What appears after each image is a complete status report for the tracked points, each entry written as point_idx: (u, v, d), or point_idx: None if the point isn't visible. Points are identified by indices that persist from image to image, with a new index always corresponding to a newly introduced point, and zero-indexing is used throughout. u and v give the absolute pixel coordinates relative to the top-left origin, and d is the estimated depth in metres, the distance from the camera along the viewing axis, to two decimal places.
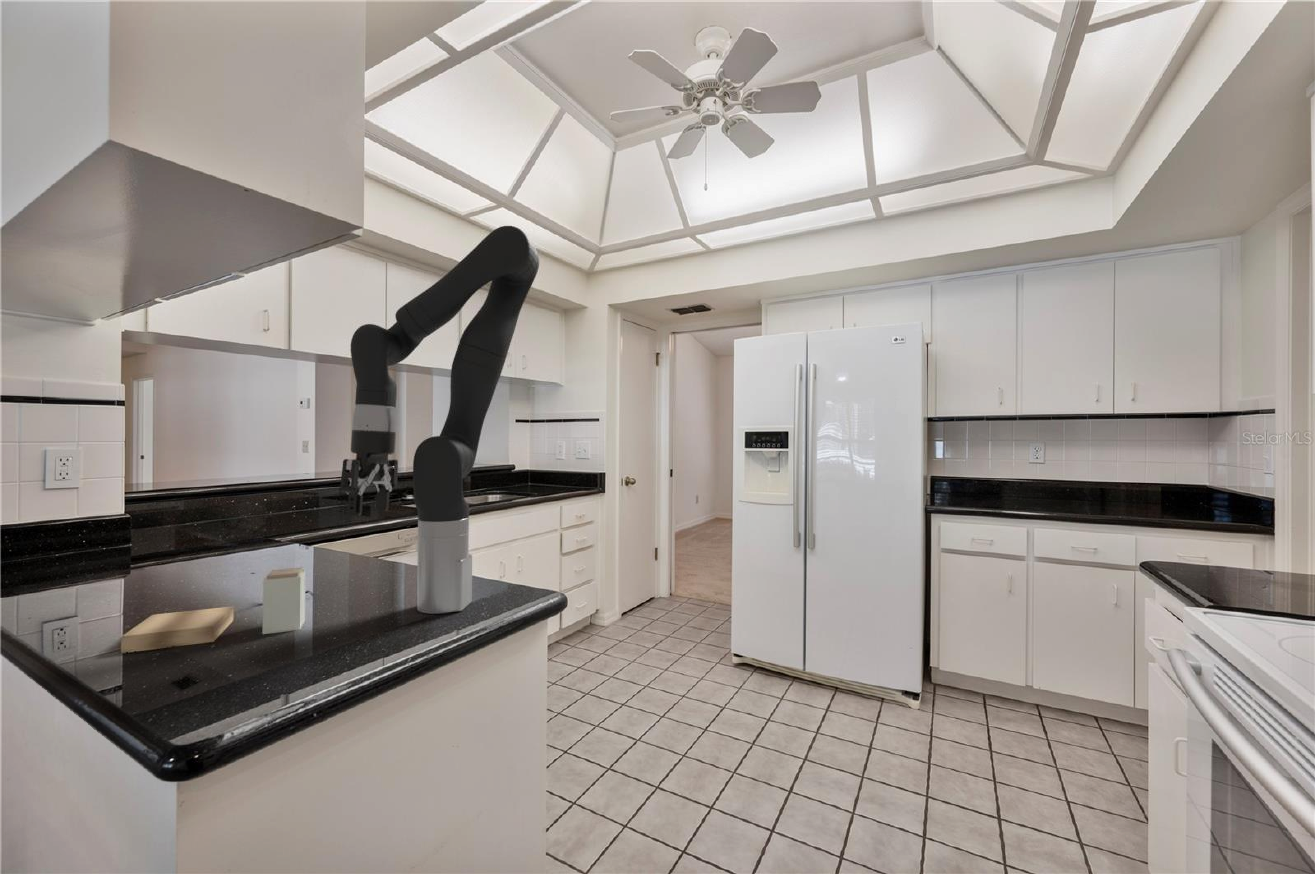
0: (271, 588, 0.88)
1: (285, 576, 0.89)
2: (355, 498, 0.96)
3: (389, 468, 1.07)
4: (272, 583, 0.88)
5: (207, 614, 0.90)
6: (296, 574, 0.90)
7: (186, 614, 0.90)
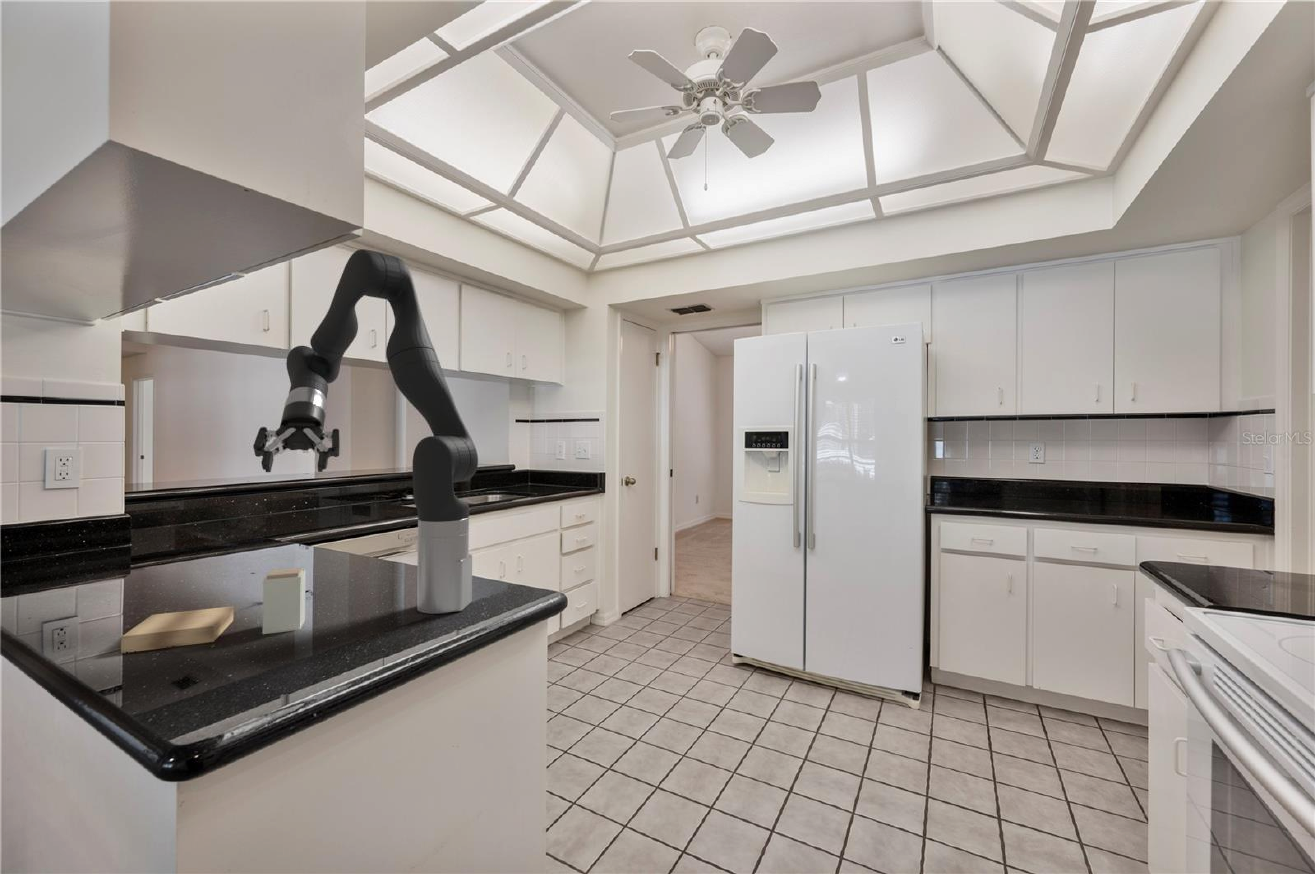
0: (271, 588, 0.88)
1: (285, 576, 0.89)
2: (263, 455, 1.02)
3: (329, 437, 1.10)
4: (272, 583, 0.88)
5: (207, 614, 0.90)
6: (296, 574, 0.90)
7: (186, 614, 0.89)
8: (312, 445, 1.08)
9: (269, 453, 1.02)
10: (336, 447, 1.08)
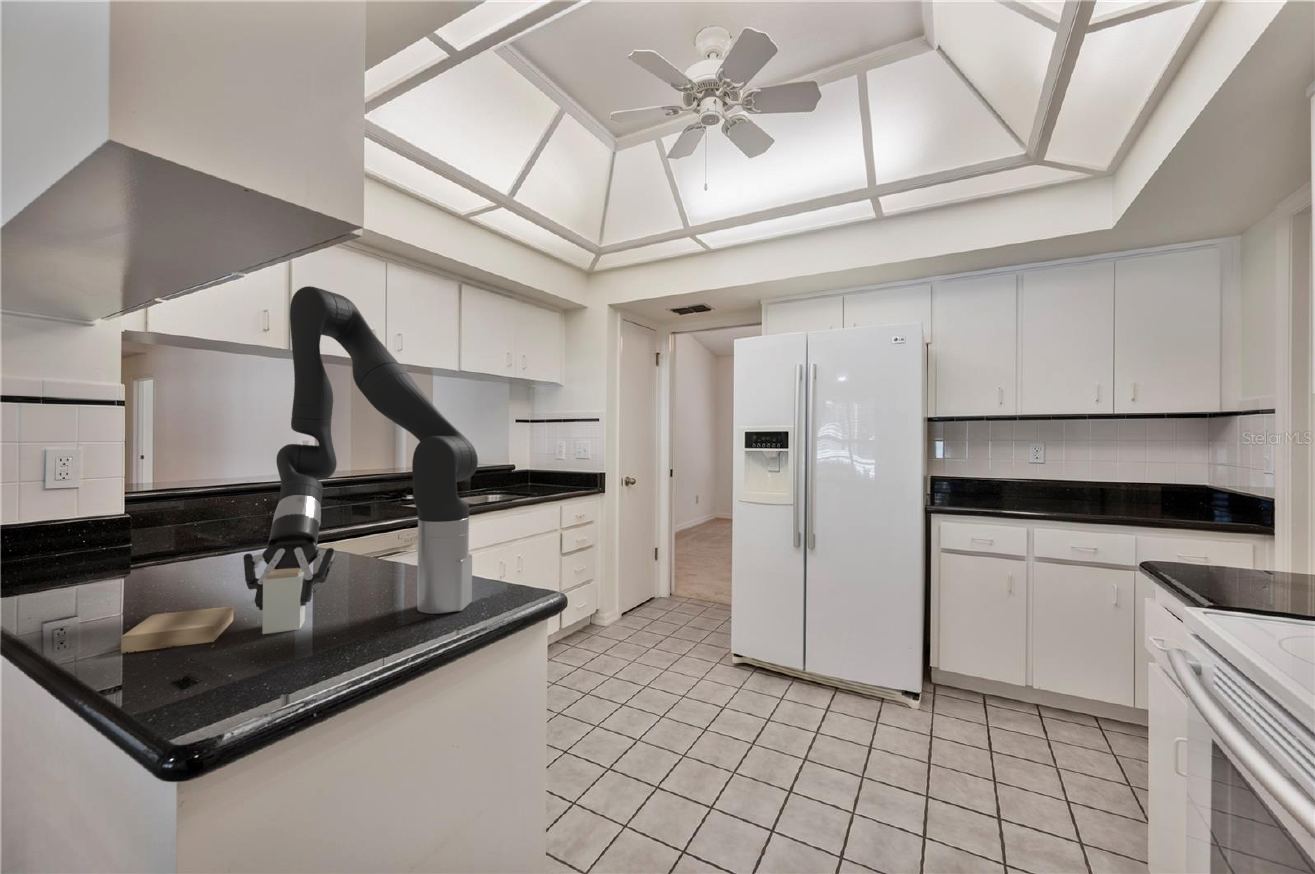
0: (271, 588, 0.88)
1: (285, 576, 0.89)
2: (257, 589, 0.89)
3: (321, 557, 0.97)
4: (272, 583, 0.88)
5: (207, 614, 0.90)
6: (296, 574, 0.90)
7: (186, 614, 0.89)
8: None
9: None
10: (321, 573, 0.94)
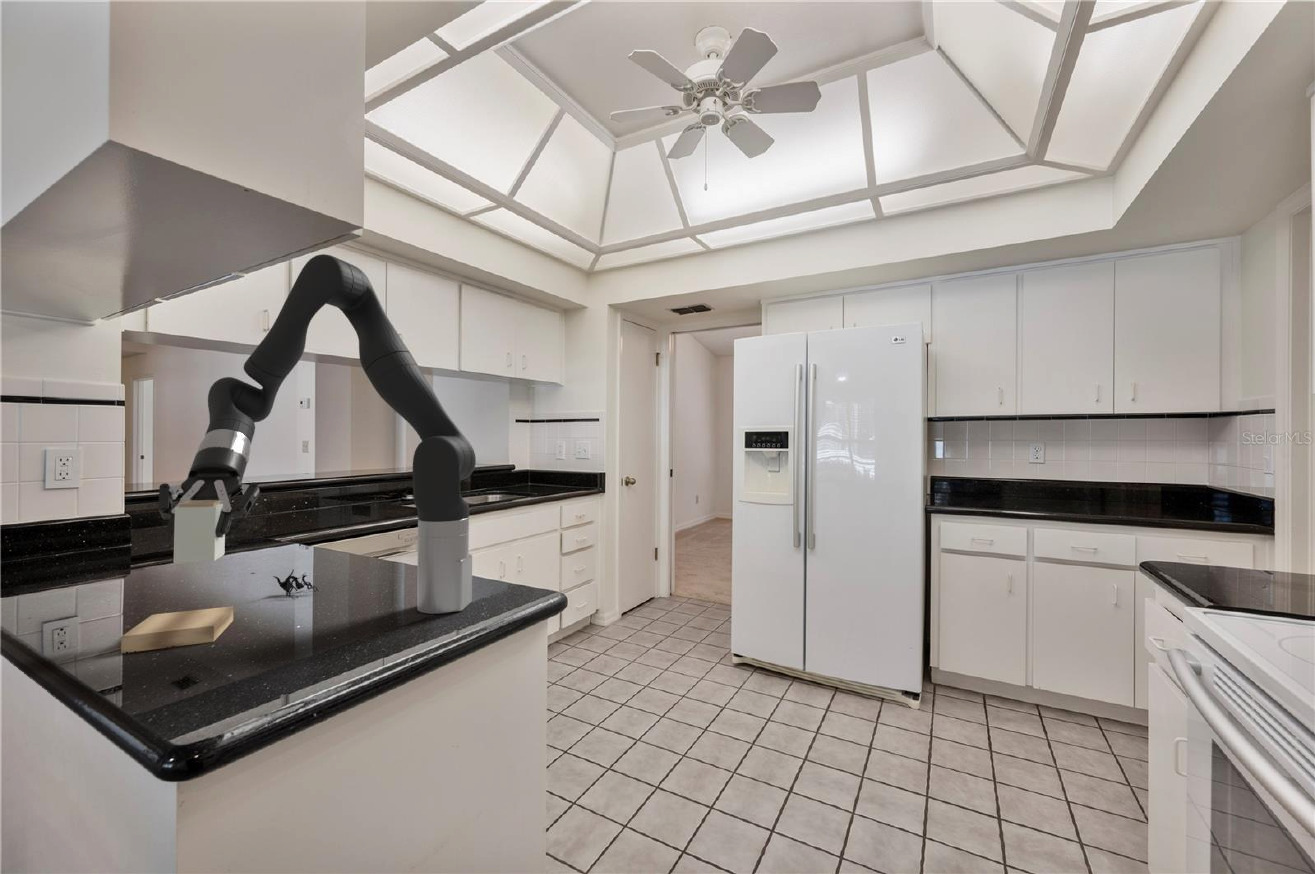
0: (183, 516, 0.85)
1: (199, 505, 0.86)
2: (170, 518, 0.86)
3: (244, 491, 0.94)
4: (185, 511, 0.85)
5: (207, 614, 0.90)
6: (211, 504, 0.87)
7: (186, 614, 0.89)
8: None
9: None
10: (241, 506, 0.91)
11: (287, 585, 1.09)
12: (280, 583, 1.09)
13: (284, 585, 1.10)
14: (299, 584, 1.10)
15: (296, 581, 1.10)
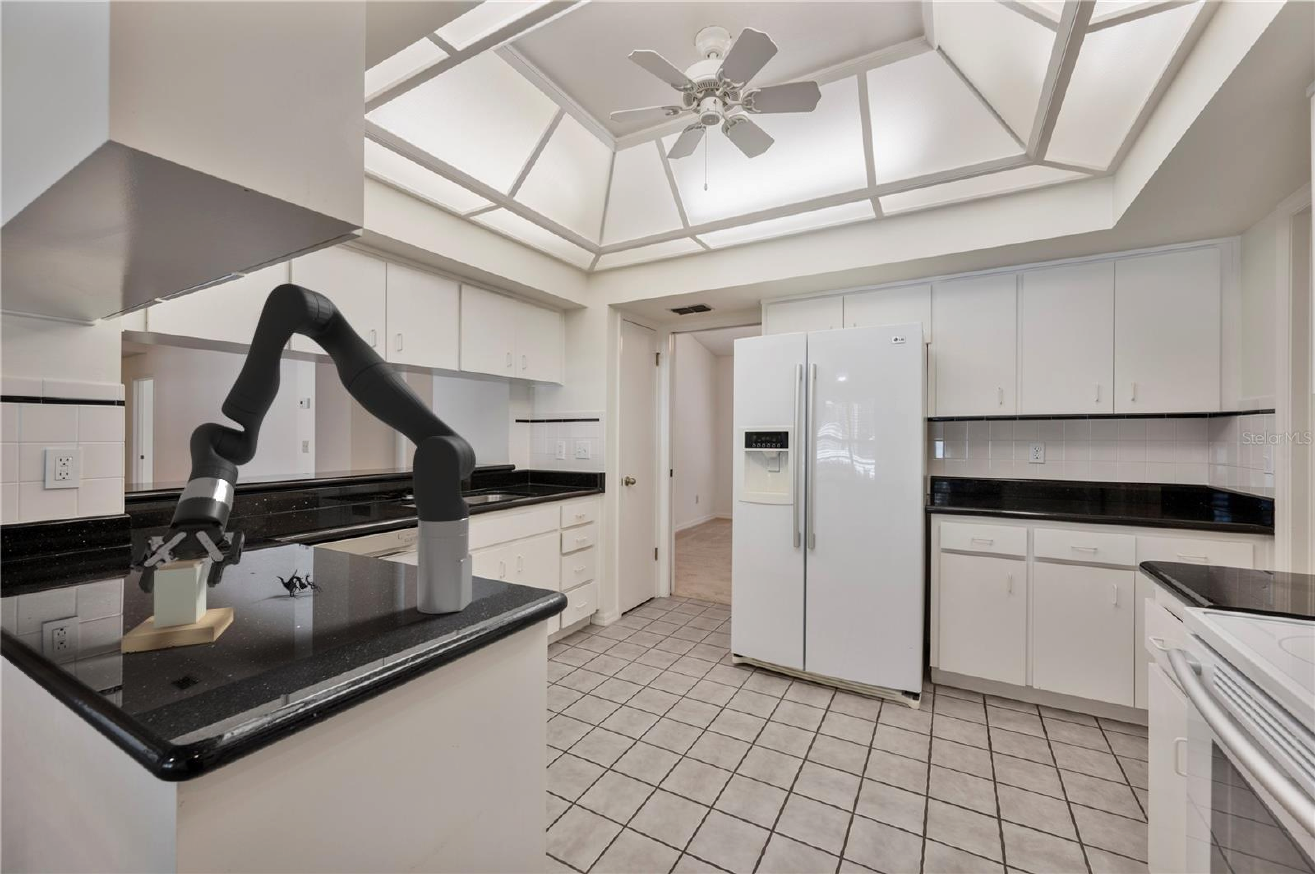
0: (163, 579, 0.84)
1: (179, 567, 0.85)
2: (143, 571, 0.85)
3: (229, 540, 0.93)
4: (165, 574, 0.84)
5: (207, 615, 0.90)
6: (192, 565, 0.86)
7: None
8: (206, 552, 0.91)
9: (150, 569, 0.85)
10: (234, 554, 0.91)
11: (291, 585, 1.09)
12: (284, 583, 1.09)
13: (288, 585, 1.10)
14: (303, 584, 1.10)
15: (300, 581, 1.10)
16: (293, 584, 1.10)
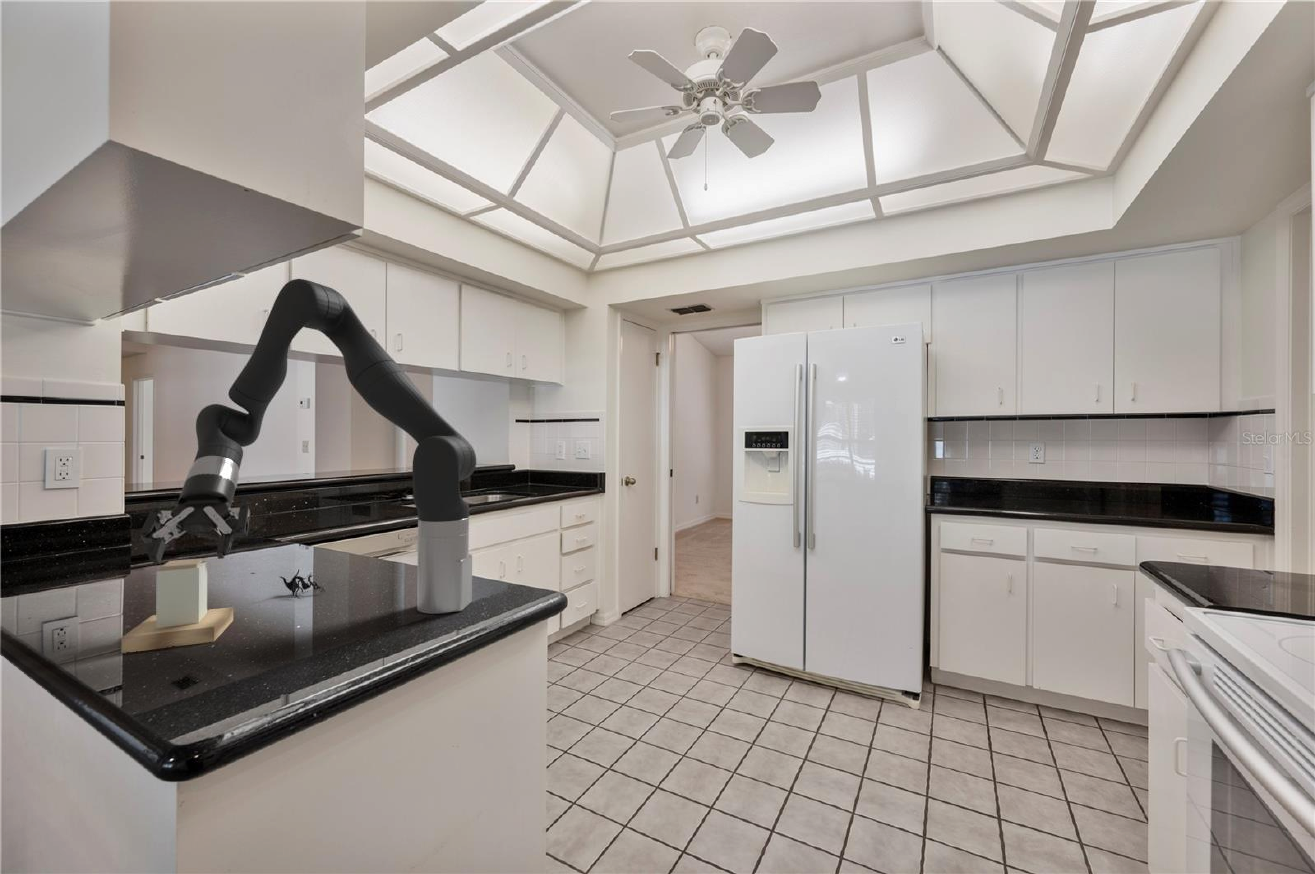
0: (165, 580, 0.84)
1: (182, 567, 0.85)
2: (151, 543, 0.88)
3: (236, 514, 0.96)
4: (167, 575, 0.84)
5: (207, 615, 0.90)
6: (194, 565, 0.86)
7: None
8: (214, 526, 0.94)
9: (158, 540, 0.88)
10: (242, 527, 0.94)
11: (293, 585, 1.09)
12: (286, 583, 1.09)
13: (290, 585, 1.09)
14: (305, 584, 1.10)
15: (302, 581, 1.10)
16: (295, 584, 1.10)
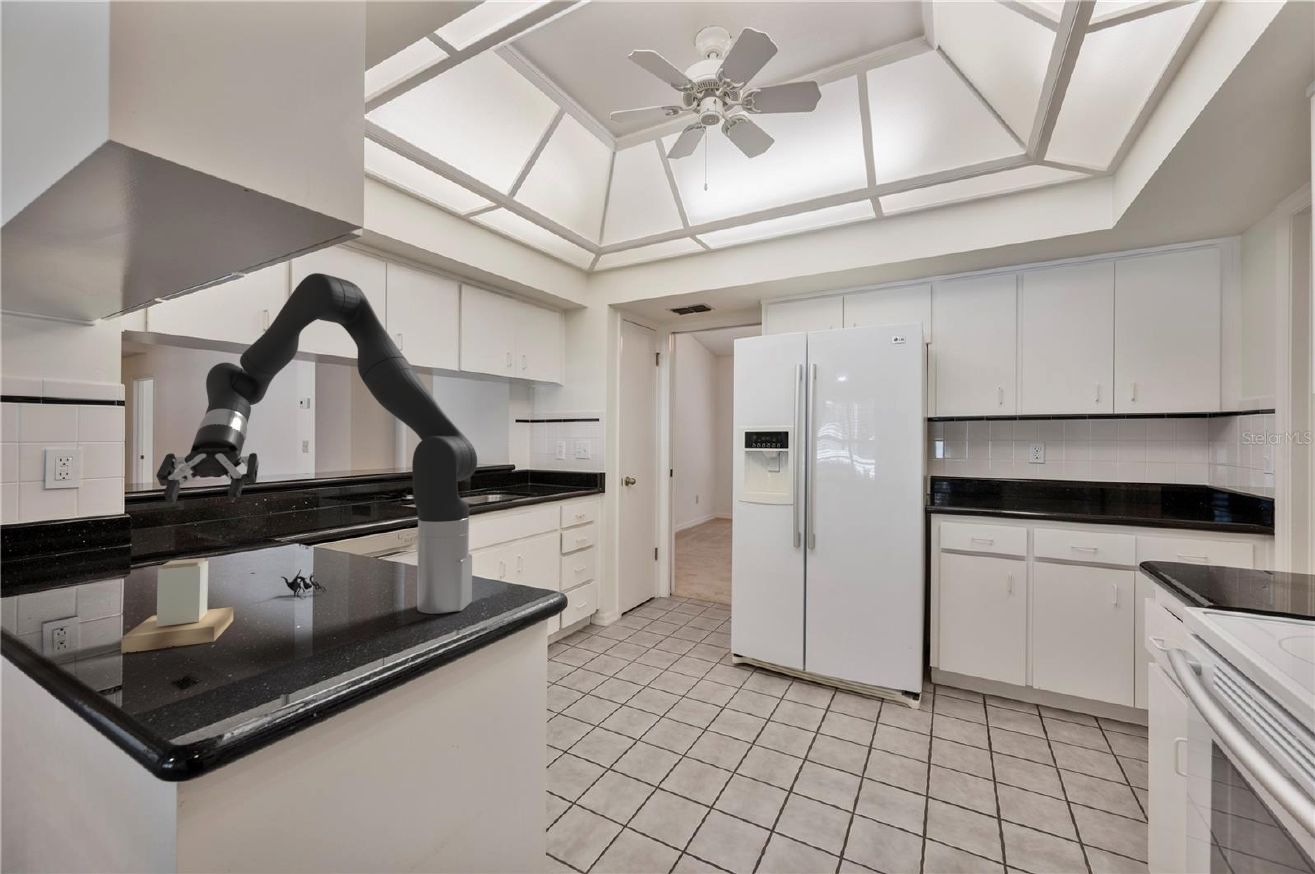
0: (167, 578, 0.84)
1: (183, 565, 0.85)
2: (167, 484, 0.94)
3: (245, 462, 1.03)
4: (168, 573, 0.84)
5: (207, 615, 0.90)
6: (195, 563, 0.86)
7: None
8: (225, 472, 1.00)
9: (174, 482, 0.95)
10: (251, 473, 1.00)
11: (295, 585, 1.09)
12: (288, 583, 1.09)
13: (292, 585, 1.09)
14: (307, 584, 1.10)
15: (304, 581, 1.10)
16: (297, 584, 1.10)
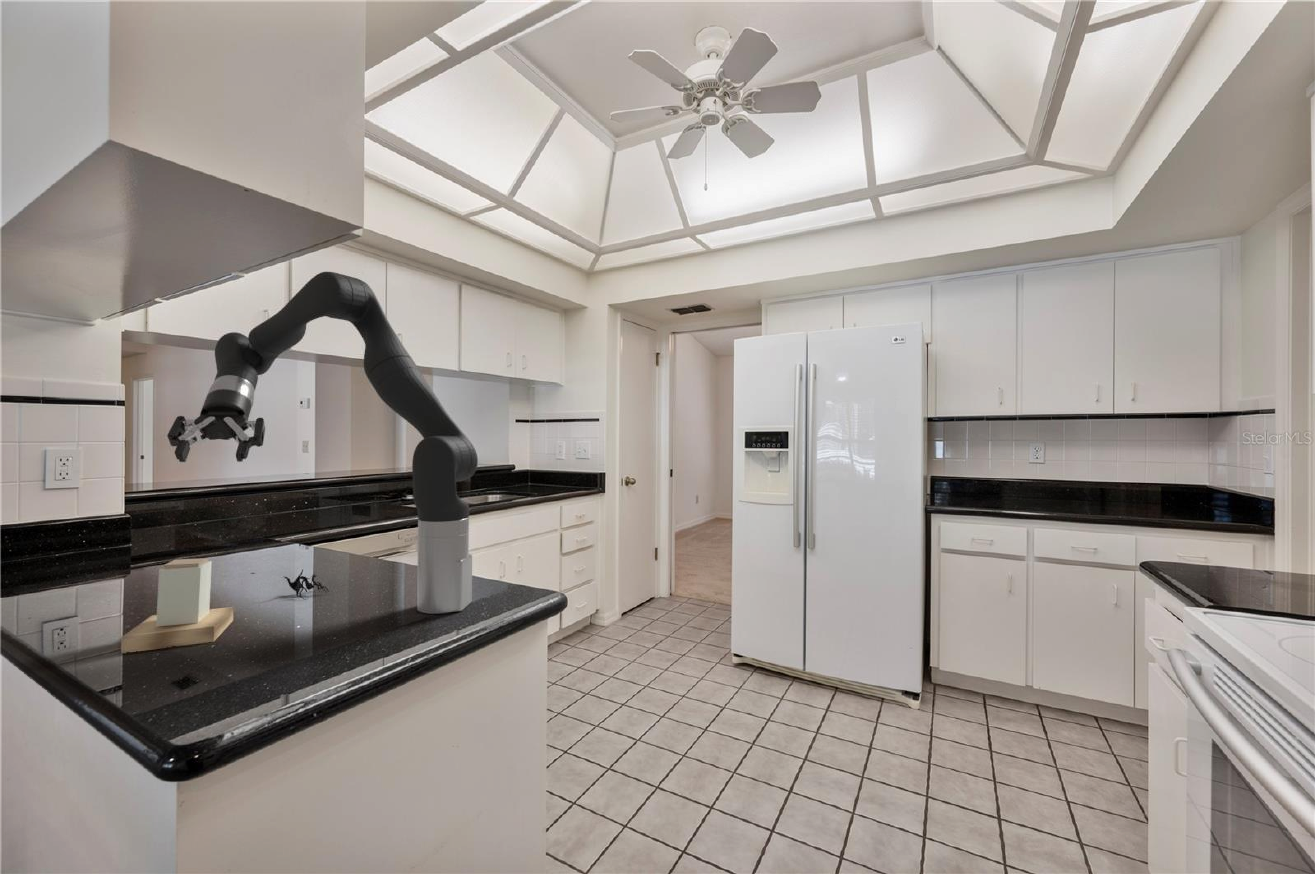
0: (167, 578, 0.84)
1: (184, 566, 0.85)
2: (178, 444, 0.98)
3: (253, 426, 1.06)
4: (169, 573, 0.84)
5: None
6: (196, 564, 0.86)
7: None
8: (233, 434, 1.04)
9: (184, 442, 0.98)
10: (258, 436, 1.04)
11: (297, 585, 1.09)
12: (290, 583, 1.09)
13: (294, 585, 1.09)
14: (309, 584, 1.10)
15: (306, 581, 1.10)
16: (299, 584, 1.10)
